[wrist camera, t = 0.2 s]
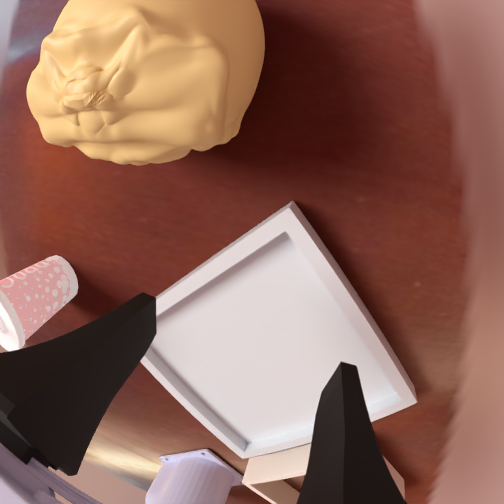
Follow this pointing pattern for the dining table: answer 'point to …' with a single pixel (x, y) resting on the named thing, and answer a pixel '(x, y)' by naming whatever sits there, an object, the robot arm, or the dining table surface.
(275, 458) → the cream bin
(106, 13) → the sculpture
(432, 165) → the dining table surface
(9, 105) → the dining table surface
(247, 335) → the light grey tray
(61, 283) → the beverage cup
